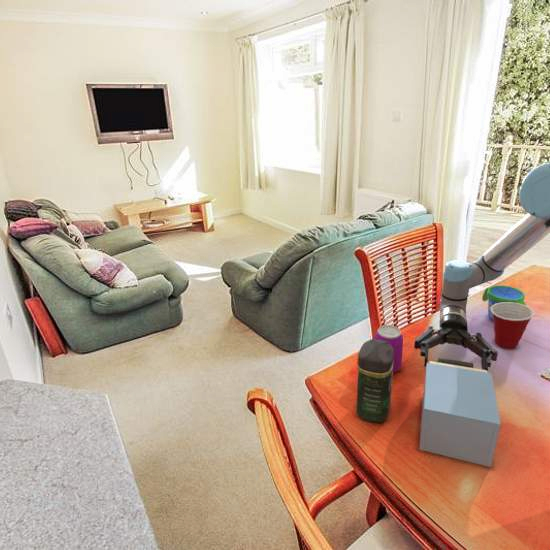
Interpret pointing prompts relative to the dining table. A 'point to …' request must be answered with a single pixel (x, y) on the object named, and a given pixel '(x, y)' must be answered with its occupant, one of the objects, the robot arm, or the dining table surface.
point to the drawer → (456, 364)
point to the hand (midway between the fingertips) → (455, 367)
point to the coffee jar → (374, 380)
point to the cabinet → (459, 414)
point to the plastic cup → (510, 323)
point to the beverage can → (392, 342)
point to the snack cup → (502, 296)
